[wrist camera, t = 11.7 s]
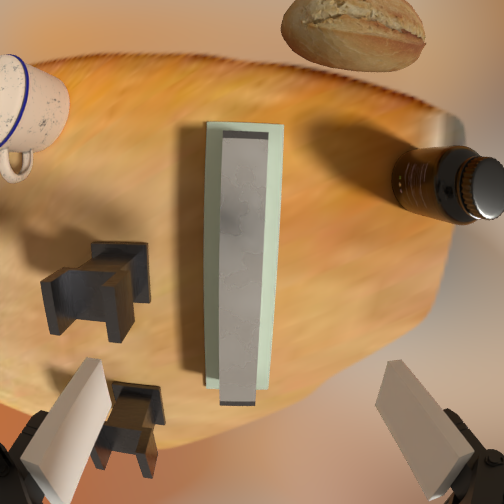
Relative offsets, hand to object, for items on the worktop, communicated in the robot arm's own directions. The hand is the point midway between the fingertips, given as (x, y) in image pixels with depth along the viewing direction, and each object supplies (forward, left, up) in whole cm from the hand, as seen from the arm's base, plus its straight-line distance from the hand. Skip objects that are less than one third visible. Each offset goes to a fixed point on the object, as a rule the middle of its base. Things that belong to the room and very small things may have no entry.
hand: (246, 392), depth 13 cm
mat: (0, 0, -19) cm, 19 cm away
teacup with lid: (-22, +15, -19) cm, 33 cm away
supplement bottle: (+18, +10, -19) cm, 28 cm away
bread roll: (+10, +24, -19) cm, 32 cm away
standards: (-12, -9, -19) cm, 24 cm away
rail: (0, 0, -18) cm, 18 cm away
